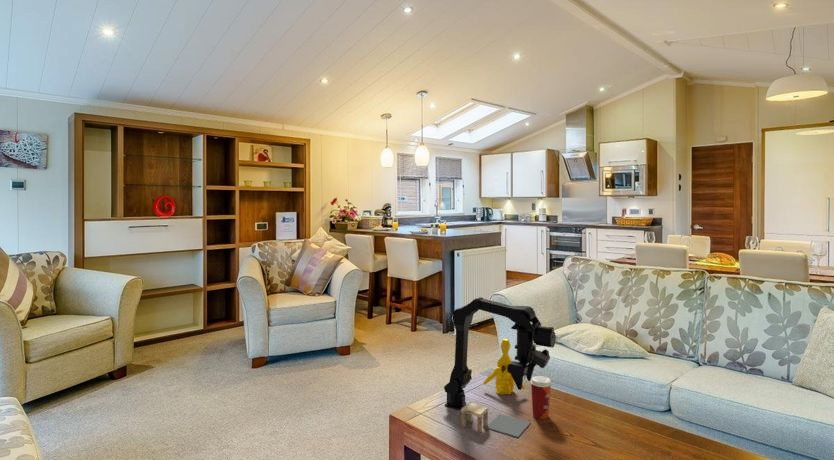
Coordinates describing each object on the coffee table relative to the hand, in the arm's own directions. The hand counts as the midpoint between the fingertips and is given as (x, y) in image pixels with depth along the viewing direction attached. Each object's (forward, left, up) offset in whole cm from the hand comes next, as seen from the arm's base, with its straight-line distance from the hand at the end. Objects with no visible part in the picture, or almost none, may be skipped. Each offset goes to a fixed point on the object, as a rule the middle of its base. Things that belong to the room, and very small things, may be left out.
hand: (524, 385), depth 164 cm
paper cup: (+3, +10, -15) cm, 18 cm away
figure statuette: (-17, +22, -15) cm, 32 cm away
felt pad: (-4, -4, -15) cm, 16 cm away
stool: (-14, -11, -15) cm, 23 cm away
